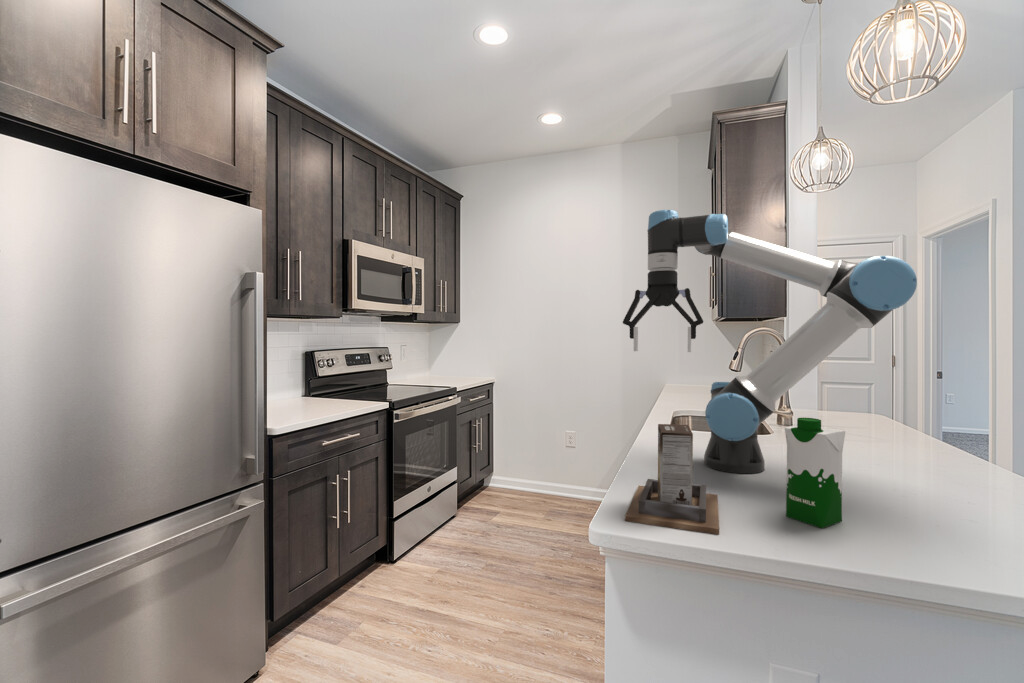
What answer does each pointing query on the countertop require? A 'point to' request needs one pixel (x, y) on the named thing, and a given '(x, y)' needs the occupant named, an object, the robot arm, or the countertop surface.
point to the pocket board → (675, 509)
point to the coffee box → (675, 463)
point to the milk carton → (814, 473)
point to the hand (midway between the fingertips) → (662, 351)
